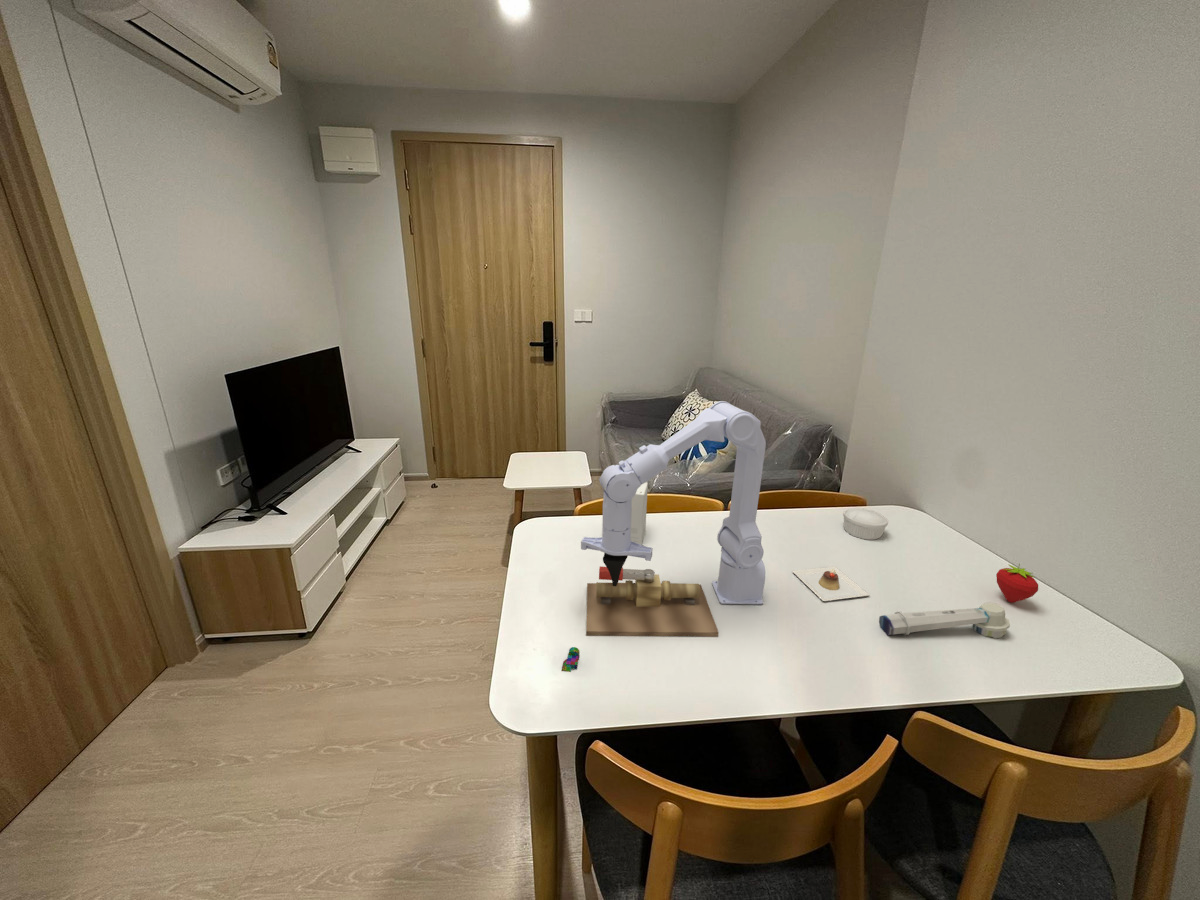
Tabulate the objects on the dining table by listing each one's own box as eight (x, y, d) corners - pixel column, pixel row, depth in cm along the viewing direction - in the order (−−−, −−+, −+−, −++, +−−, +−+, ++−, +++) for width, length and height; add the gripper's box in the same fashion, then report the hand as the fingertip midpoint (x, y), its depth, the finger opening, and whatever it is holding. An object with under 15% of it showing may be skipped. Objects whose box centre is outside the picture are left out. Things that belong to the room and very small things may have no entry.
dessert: (822, 605, 104) (826, 586, 103) (790, 574, 115) (794, 557, 114) (869, 599, 107) (873, 581, 105) (834, 570, 118) (837, 553, 116)
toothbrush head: (877, 608, 97) (998, 593, 97) (875, 634, 99) (993, 620, 99) (893, 625, 92) (1020, 609, 92) (890, 652, 94) (1014, 637, 94)
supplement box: (646, 530, 134) (649, 481, 129) (641, 546, 125) (644, 494, 121) (614, 526, 136) (616, 478, 131) (608, 541, 127) (610, 490, 123)
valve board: (700, 588, 108) (702, 565, 106) (718, 636, 93) (721, 611, 91) (587, 586, 108) (587, 564, 106) (586, 635, 92) (586, 609, 90)
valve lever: (653, 576, 101) (654, 568, 101) (654, 582, 99) (654, 574, 98) (599, 573, 102) (599, 565, 101) (598, 579, 99) (599, 572, 99)
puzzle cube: (564, 656, 88) (564, 646, 87) (579, 657, 87) (579, 647, 87) (560, 673, 84) (559, 663, 83) (575, 675, 83) (575, 664, 83)
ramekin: (835, 521, 142) (838, 506, 140) (874, 525, 140) (878, 509, 139) (848, 540, 131) (852, 523, 130) (891, 544, 130) (895, 526, 128)
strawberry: (1019, 615, 102) (1033, 575, 98) (982, 594, 108) (995, 556, 105) (1037, 610, 103) (1052, 570, 100) (1000, 590, 110) (1013, 552, 107)
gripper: (656, 521, 95) (653, 579, 100) (588, 511, 99) (588, 567, 104) (649, 537, 89) (646, 598, 93) (577, 526, 93) (577, 585, 97)
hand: (615, 583), depth 98 cm, fingers closed, pressing on valve lever
